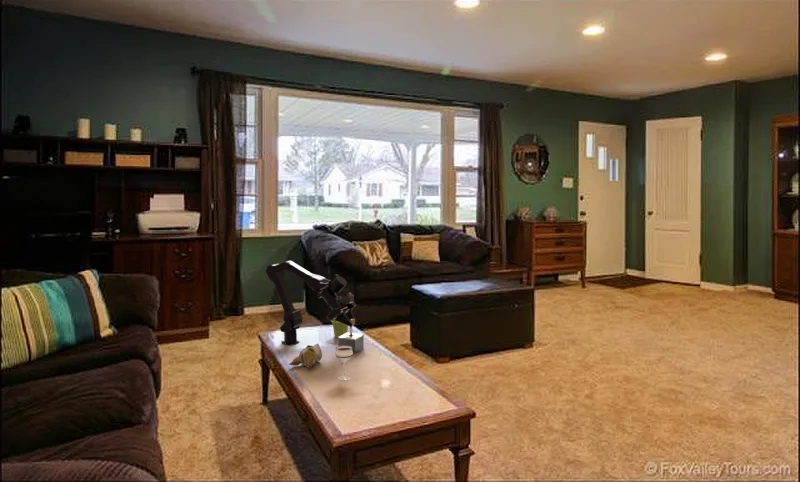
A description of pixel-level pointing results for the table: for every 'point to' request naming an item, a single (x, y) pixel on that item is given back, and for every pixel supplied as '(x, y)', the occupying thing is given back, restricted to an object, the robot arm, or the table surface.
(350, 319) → the bronze domed cylinder
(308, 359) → the ceramic sculpture
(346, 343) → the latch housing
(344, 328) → the plant pot
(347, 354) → the wineglass
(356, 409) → the table surface
